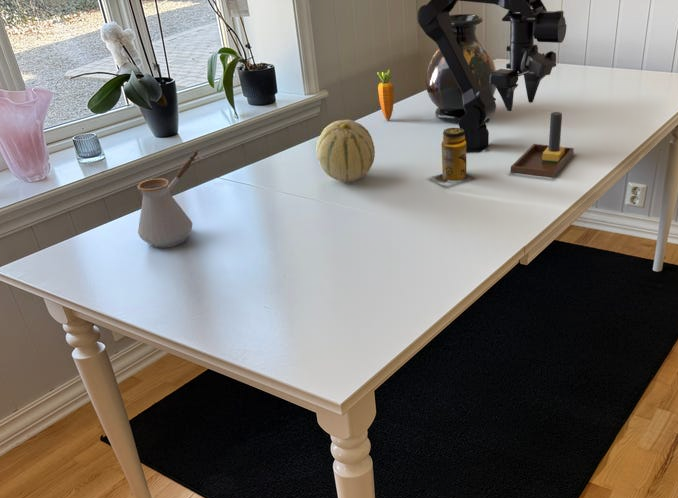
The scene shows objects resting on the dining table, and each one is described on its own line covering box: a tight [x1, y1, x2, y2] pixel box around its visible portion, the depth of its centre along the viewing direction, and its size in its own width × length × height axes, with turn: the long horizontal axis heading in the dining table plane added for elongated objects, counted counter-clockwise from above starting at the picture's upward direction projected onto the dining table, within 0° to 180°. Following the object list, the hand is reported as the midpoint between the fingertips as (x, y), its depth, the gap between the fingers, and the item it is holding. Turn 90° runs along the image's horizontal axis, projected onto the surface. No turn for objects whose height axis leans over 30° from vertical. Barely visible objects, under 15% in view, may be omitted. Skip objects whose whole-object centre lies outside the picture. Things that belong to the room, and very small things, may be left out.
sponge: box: [542, 111, 565, 164], centre depth 176 cm, size 6×4×12 cm
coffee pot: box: [136, 150, 204, 249], centre depth 151 cm, size 21×12×15 cm, turn 155°
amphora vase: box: [425, 13, 497, 124], centre depth 207 cm, size 22×22×28 cm
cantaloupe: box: [316, 119, 376, 183], centre depth 172 cm, size 15×15×15 cm
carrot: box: [376, 69, 395, 122], centre depth 211 cm, size 5×5×15 cm
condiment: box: [429, 127, 467, 186], centre depth 170 cm, size 7×8×12 cm
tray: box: [510, 143, 575, 179], centre depth 177 cm, size 18×11×2 cm, turn 154°
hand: (520, 106), depth 178 cm, fingers open, 9 cm apart
